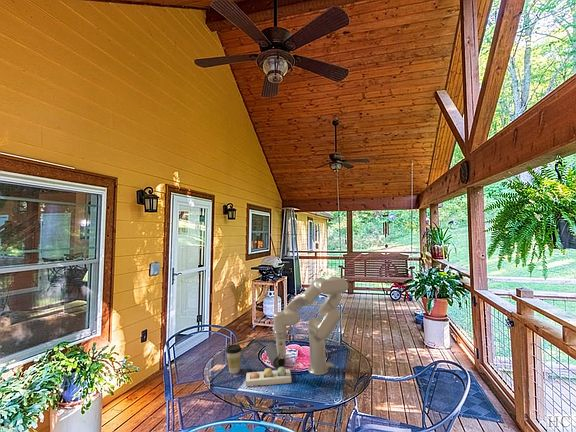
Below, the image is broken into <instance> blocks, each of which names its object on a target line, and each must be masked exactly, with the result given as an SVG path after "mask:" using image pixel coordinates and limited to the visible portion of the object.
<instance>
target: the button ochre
mask: <svg viewBox="0 0 576 432" xmlns="http://www.w3.org/2000/svg"><path fill="white" fill-rule="evenodd" d="M263 371H264V372H265V377H270V376H272V371H273V370H272V368H270V367H267V368H265V369H264V370H263Z"/></svg>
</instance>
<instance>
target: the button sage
mask: <svg viewBox="0 0 576 432" xmlns="http://www.w3.org/2000/svg"><path fill="white" fill-rule="evenodd" d="M285 369H286V366H284V367H279V368H278V369H277V370H278V375H280V376H283V375H285V374H286V370H285Z"/></svg>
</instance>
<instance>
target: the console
mask: <svg viewBox="0 0 576 432" xmlns="http://www.w3.org/2000/svg"><path fill="white" fill-rule="evenodd" d="M285 370H286V374H285V375H283V376H280V375H278V369H276V370H272V376H270V377H265V372H264V370H263V371H262V370H261V371H252V372H250V371H249V372H246V376H245V387H246V386H250V387H252V386H251V385H255V386H256V387H258V386H257V385H261V386H268V385H269V386H270V385H278V384H280V385H281V384H291V383H292V374H291V370H290V368H288V369H287V368H285ZM252 373H258V376H259V378H255V379H251V374H252ZM255 386H254V387H255Z"/></svg>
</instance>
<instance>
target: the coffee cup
mask: <svg viewBox="0 0 576 432" xmlns="http://www.w3.org/2000/svg"><path fill="white" fill-rule="evenodd" d="M242 350H243V349H242V347H241V345H240V344H231V345H228V346H227V347H226V349H225V353H226V358H227V359H226V360H227V365H228V370H229V371H228V372H229V373H230V374H231V375H235V374H238V373H239V372H240V368H241V367H240V366H241V361H242V359H241V358H242Z"/></svg>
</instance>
